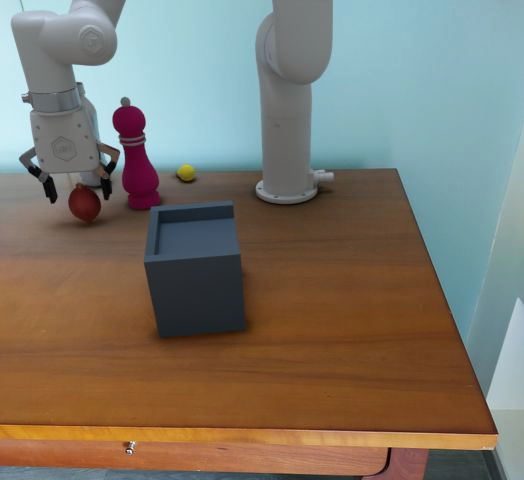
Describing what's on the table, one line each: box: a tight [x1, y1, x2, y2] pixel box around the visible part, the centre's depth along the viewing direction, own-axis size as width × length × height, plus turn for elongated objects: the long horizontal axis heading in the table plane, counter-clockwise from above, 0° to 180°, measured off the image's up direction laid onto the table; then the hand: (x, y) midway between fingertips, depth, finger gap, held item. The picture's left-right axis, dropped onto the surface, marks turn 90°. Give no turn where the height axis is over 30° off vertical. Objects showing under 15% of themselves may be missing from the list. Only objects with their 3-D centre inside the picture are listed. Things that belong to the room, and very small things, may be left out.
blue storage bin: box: [143, 200, 247, 339], centre depth 75 cm, size 12×16×12 cm
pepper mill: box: [111, 96, 161, 210], centre depth 100 cm, size 7×7×20 cm
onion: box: [67, 182, 102, 224], centre depth 98 cm, size 6×6×8 cm
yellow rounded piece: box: [174, 163, 196, 182], centre depth 115 cm, size 3×6×4 cm, turn 43°
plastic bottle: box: [76, 81, 112, 187], centre depth 109 cm, size 6×7×20 cm
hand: (81, 199), depth 98 cm, fingers open, 9 cm apart
